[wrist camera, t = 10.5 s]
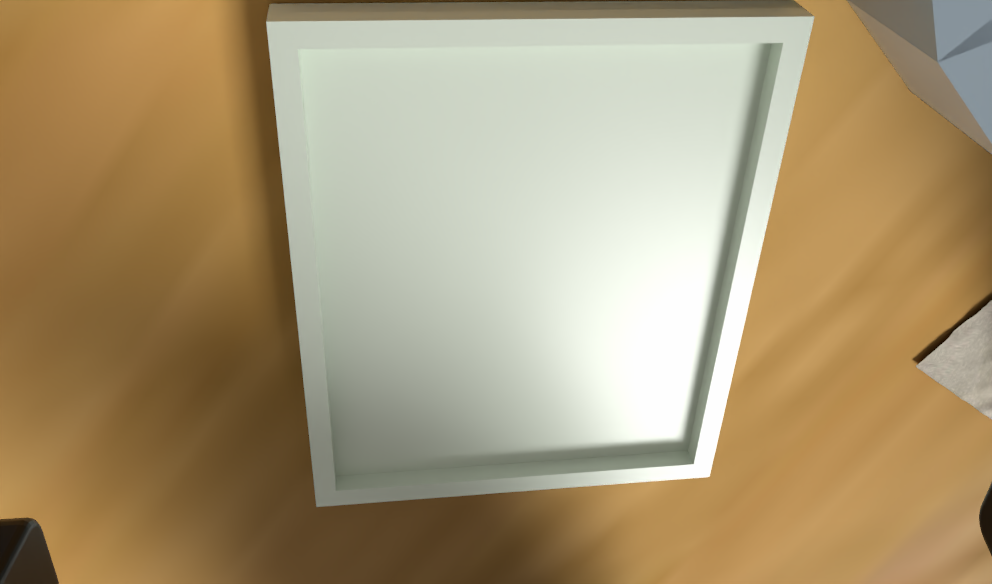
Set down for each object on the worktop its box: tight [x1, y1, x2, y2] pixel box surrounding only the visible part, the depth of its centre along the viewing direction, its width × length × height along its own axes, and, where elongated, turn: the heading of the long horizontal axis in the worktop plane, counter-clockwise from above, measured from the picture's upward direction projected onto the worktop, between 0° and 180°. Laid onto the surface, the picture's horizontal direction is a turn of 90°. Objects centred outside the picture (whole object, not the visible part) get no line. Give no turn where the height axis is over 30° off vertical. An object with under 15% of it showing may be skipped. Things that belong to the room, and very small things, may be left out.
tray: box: [266, 0, 814, 507], centre depth 21 cm, size 12×10×1 cm
